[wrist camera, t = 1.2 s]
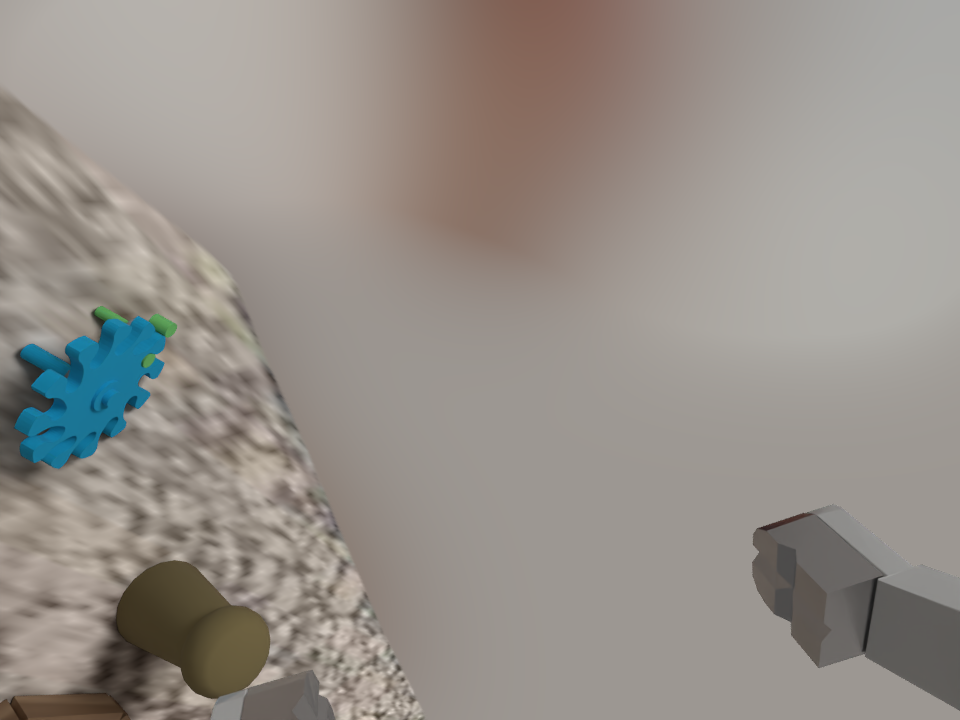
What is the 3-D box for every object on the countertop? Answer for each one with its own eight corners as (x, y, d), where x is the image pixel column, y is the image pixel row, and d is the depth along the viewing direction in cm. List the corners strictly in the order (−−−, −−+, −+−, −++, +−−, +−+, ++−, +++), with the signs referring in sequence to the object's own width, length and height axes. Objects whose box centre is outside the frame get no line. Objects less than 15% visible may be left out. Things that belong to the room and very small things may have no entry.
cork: (150, 549, 41) (227, 598, 34) (219, 573, 45) (301, 621, 38) (96, 637, 38) (168, 709, 31) (175, 654, 42) (254, 721, 35)
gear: (64, 499, 35) (12, 422, 27) (-21, 451, 35) (-96, 361, 27) (191, 374, 42) (179, 286, 34) (120, 334, 42) (92, 237, 34)
